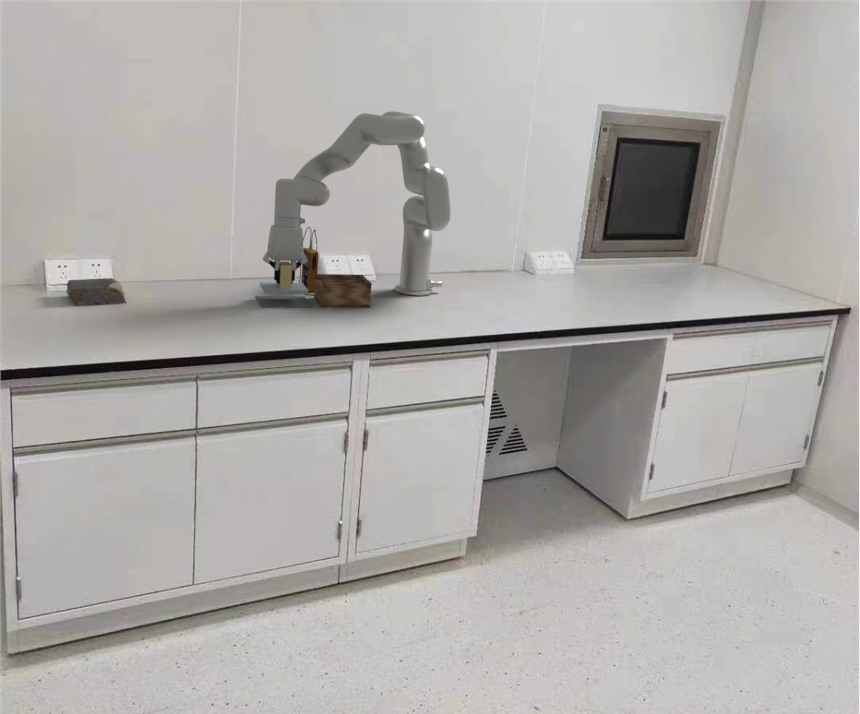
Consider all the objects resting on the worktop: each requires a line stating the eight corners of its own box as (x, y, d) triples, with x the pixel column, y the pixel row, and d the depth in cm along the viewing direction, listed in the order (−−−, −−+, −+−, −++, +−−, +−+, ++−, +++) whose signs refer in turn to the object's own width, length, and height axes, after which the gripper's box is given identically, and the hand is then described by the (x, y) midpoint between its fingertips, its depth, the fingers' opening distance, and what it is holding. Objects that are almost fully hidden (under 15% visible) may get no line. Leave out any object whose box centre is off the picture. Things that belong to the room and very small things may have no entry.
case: (360, 298, 273) (362, 274, 271) (369, 307, 263) (371, 283, 261) (314, 297, 268) (315, 273, 266) (321, 307, 258) (323, 282, 256)
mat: (304, 297, 268) (304, 296, 268) (312, 307, 257) (312, 306, 257) (255, 296, 263) (255, 295, 263) (261, 307, 252) (261, 306, 252)
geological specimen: (63, 279, 242) (118, 275, 250) (65, 300, 244) (119, 295, 252) (69, 288, 234) (126, 283, 241) (71, 309, 236) (128, 304, 243)
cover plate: (302, 286, 265) (303, 260, 263) (308, 293, 257) (309, 267, 254) (259, 285, 261) (260, 259, 258) (264, 293, 252) (265, 266, 250)
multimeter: (275, 285, 279) (278, 223, 273) (305, 284, 284) (308, 224, 278) (290, 296, 267) (293, 232, 261) (321, 295, 272) (324, 232, 266)
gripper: (312, 221, 259) (308, 280, 264) (257, 218, 253) (254, 279, 259) (317, 225, 252) (313, 286, 257) (260, 223, 246) (258, 285, 252)
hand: (284, 282), depth 258 cm, fingers closed on cover plate, 3 cm apart
